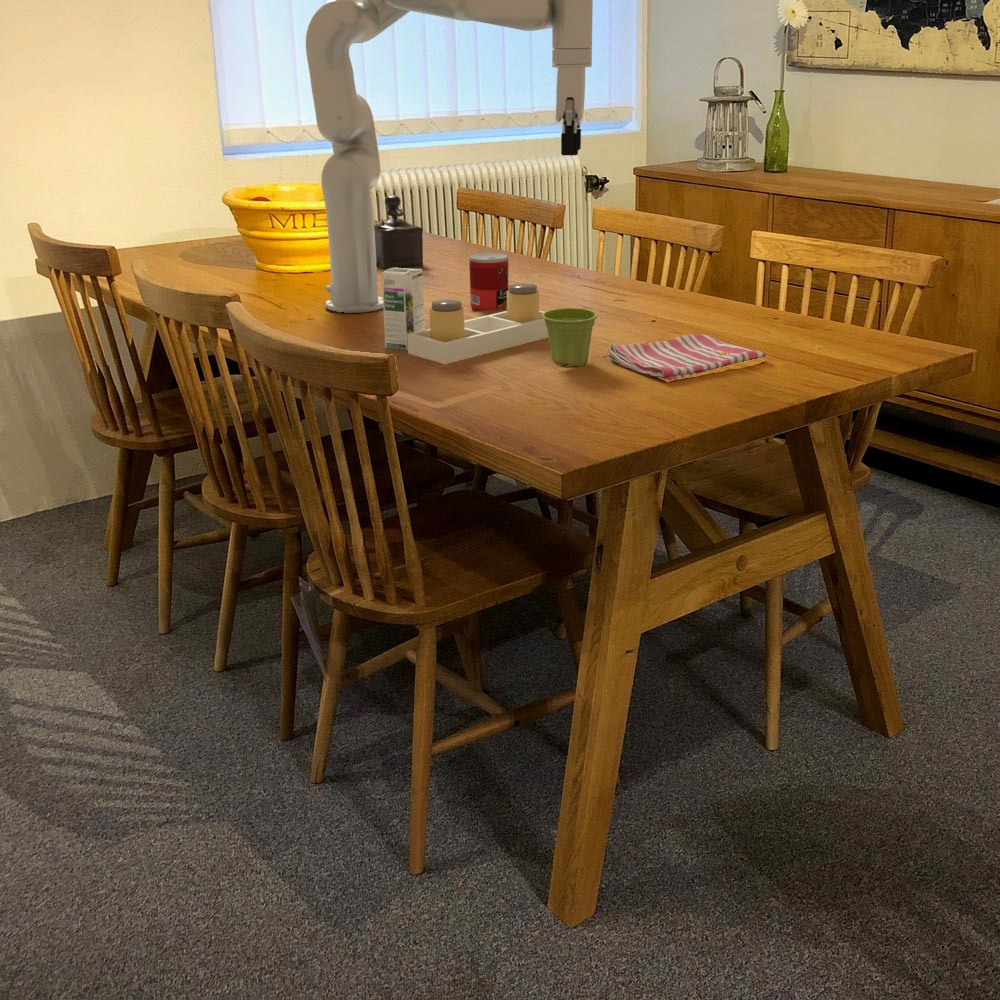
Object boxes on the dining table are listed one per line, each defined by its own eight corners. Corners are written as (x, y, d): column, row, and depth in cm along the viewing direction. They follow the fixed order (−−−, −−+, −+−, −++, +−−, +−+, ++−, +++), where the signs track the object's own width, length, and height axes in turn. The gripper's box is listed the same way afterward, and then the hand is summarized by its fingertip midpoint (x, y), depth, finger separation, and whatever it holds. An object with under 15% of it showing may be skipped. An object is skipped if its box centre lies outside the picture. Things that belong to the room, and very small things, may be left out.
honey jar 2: (500, 334, 216) (500, 286, 212) (523, 328, 219) (523, 281, 216) (522, 339, 212) (522, 291, 208) (545, 333, 215) (545, 286, 212)
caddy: (408, 357, 204) (407, 333, 203) (523, 328, 222) (523, 306, 221) (445, 368, 198) (444, 344, 196) (561, 338, 216) (561, 315, 214)
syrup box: (384, 351, 208) (379, 271, 203) (398, 343, 213) (395, 265, 208) (412, 354, 206) (408, 273, 201) (426, 346, 211) (423, 267, 206)
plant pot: (580, 373, 194) (581, 323, 190) (532, 366, 198) (532, 316, 195) (605, 360, 201) (607, 311, 198) (559, 353, 206) (559, 305, 202)
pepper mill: (366, 263, 286) (362, 189, 279) (407, 259, 291) (404, 185, 284) (391, 274, 273) (387, 196, 266) (433, 269, 278) (430, 193, 271)
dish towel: (603, 363, 201) (604, 343, 200) (707, 344, 212) (709, 325, 211) (663, 387, 188) (664, 366, 186) (771, 365, 198) (773, 346, 197)
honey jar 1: (424, 353, 204) (422, 303, 201) (449, 346, 208) (448, 297, 204) (446, 359, 200) (444, 308, 196) (472, 352, 204) (470, 302, 200)
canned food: (504, 314, 234) (504, 260, 230) (466, 313, 235) (465, 259, 231) (512, 305, 241) (511, 253, 237) (474, 304, 242) (473, 252, 238)
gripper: (555, 57, 226) (555, 148, 233) (548, 60, 211) (548, 157, 217) (593, 57, 226) (592, 148, 232) (589, 60, 210) (588, 157, 216)
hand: (571, 152), depth 225 cm, fingers open, 9 cm apart
